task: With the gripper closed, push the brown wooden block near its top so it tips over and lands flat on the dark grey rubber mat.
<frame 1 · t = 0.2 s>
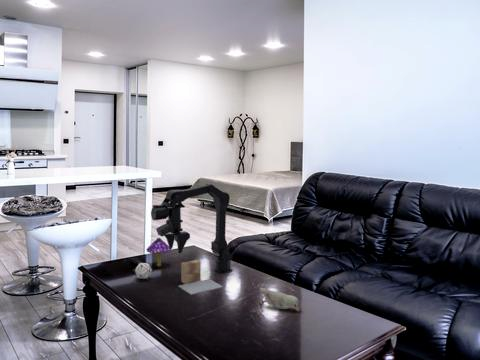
hand: (175, 250, 191), 14 cm above the table, fingers open, 9 cm apart
game die: (143, 279, 193), on the table
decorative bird: (279, 309, 160), on the table
rubber mat: (200, 286, 183), on the table
brown wooden block: (191, 281, 190), on the table
decorative mushroom: (159, 266, 212), on the table
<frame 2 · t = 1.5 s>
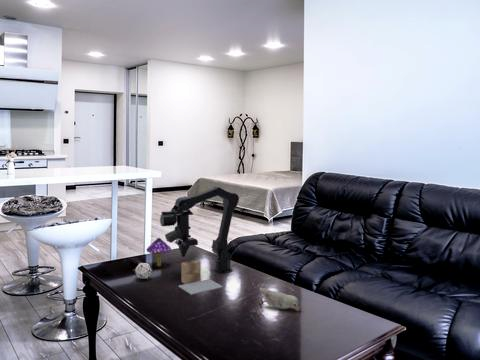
hand: (183, 256, 196), 10 cm above the table, fingers closed
nothing on the table moved.
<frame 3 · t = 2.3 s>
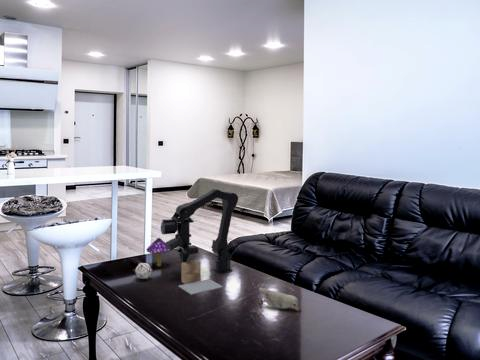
hand: (183, 264, 196), 6 cm above the table, fingers closed
nothing on the table moved.
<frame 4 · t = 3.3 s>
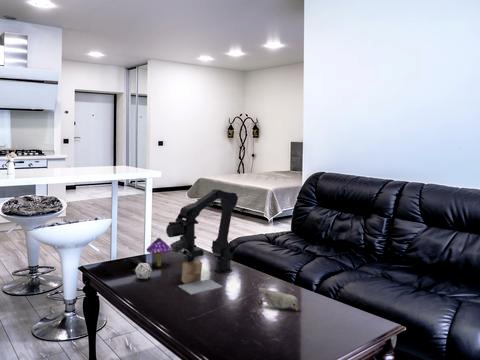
hand: (188, 267, 191), 6 cm above the table, fingers closed
brown wooden block: (191, 280, 190), on the table, tilted 9°
everything else where it was.
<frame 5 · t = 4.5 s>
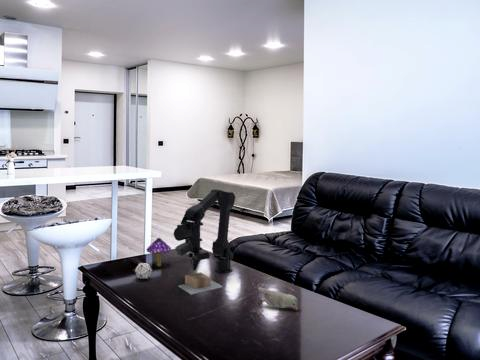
hand: (194, 270, 187), 6 cm above the table, fingers closed
brown wooden block: (192, 277, 189), point 2 cm above the table, tilted 90°, touching rubber mat
everything else where it was.
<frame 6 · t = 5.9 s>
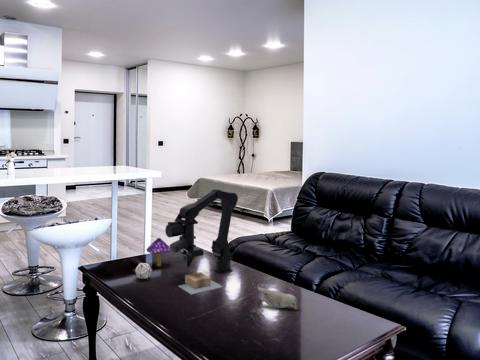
hand: (187, 267, 192), 6 cm above the table, fingers closed
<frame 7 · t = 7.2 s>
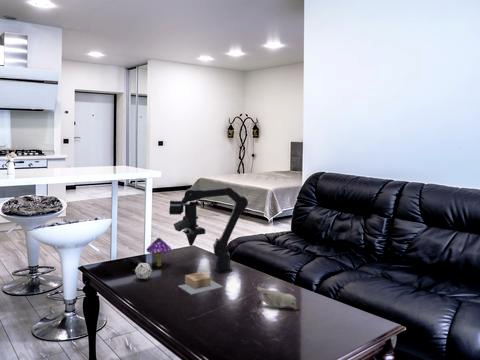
hand: (190, 245, 203), 13 cm above the table, fingers closed
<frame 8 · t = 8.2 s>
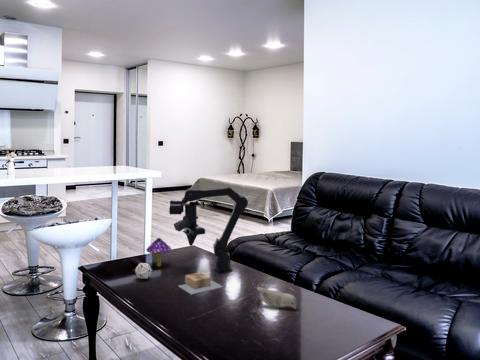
hand: (190, 245, 203), 13 cm above the table, fingers closed
at the end: brown wooden block tilted 90°; brown wooden block inside the target area (4.3 cm from its centre), point 2.2 cm above the table; the gripper is holding nothing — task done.
